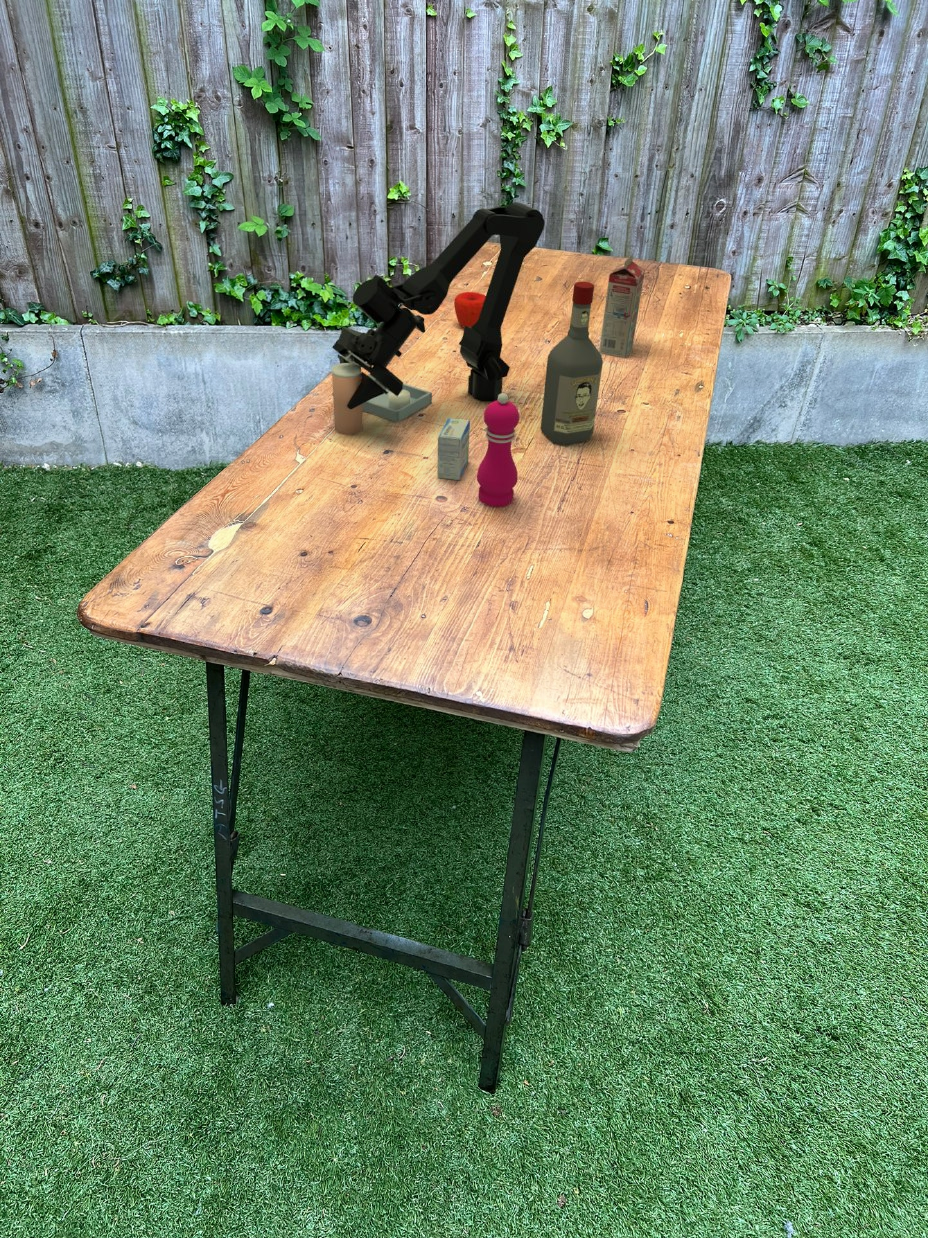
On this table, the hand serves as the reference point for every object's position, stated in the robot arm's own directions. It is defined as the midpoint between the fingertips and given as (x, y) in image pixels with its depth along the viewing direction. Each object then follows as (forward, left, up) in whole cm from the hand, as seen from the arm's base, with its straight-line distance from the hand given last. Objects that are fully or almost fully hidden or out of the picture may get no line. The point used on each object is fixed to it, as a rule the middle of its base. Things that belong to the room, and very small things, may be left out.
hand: (341, 402), depth 177 cm
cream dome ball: (-3, -15, -6) cm, 17 cm away
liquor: (-36, -27, -7) cm, 45 cm away
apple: (+12, -65, -7) cm, 67 cm away
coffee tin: (-1, -1, -7) cm, 7 cm away
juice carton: (-24, -74, -7) cm, 78 cm away
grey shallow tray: (+1, -15, -7) cm, 17 cm away
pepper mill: (-38, +3, -7) cm, 38 cm away
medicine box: (-26, -1, -7) cm, 27 cm away
